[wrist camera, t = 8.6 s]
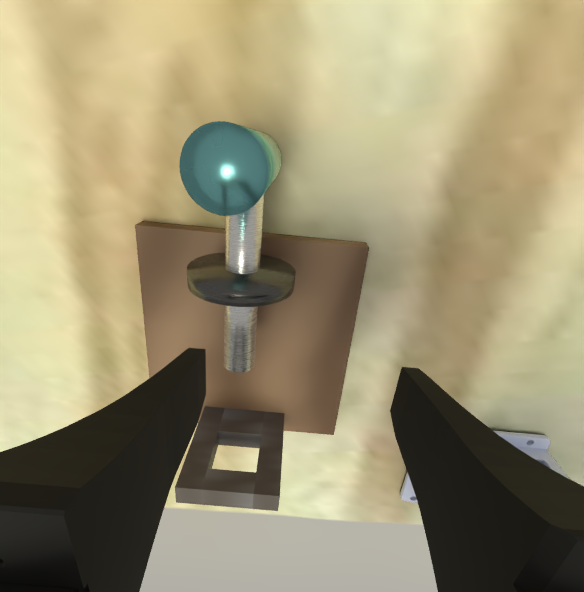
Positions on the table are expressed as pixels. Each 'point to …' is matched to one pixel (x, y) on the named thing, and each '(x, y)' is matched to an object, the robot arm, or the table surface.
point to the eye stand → (268, 353)
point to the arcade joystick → (235, 230)
